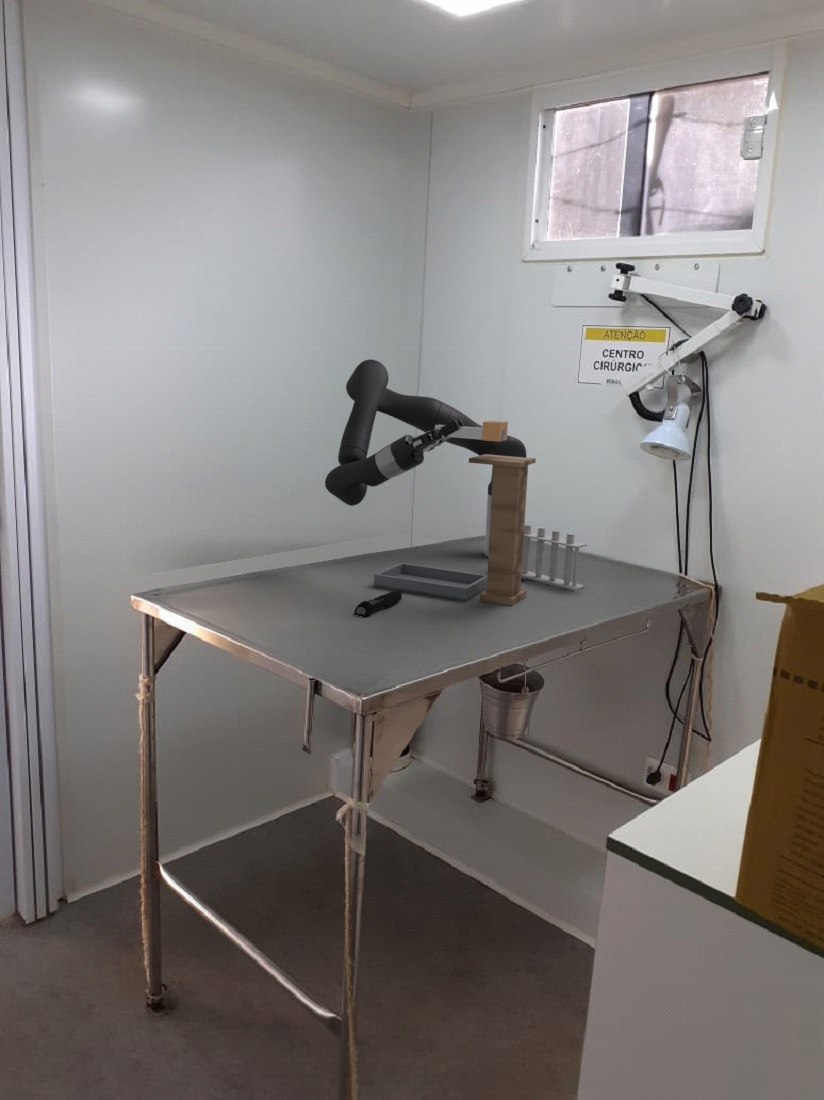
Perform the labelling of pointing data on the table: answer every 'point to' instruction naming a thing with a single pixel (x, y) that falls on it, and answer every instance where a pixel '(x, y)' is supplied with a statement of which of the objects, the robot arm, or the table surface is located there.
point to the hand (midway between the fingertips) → (459, 424)
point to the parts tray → (431, 581)
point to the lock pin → (482, 431)
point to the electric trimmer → (378, 603)
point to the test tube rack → (553, 560)
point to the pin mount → (506, 527)
